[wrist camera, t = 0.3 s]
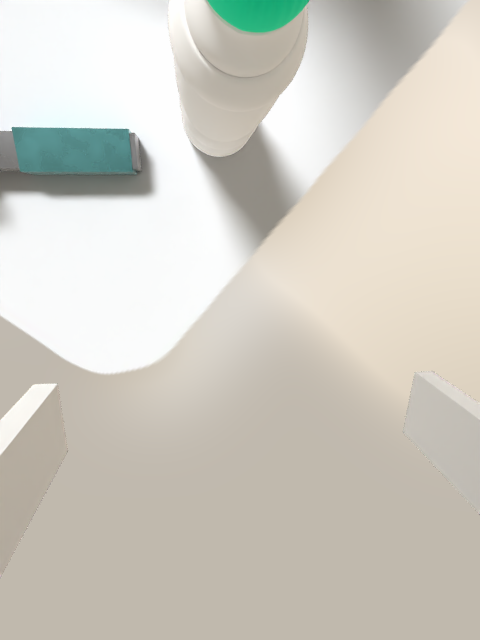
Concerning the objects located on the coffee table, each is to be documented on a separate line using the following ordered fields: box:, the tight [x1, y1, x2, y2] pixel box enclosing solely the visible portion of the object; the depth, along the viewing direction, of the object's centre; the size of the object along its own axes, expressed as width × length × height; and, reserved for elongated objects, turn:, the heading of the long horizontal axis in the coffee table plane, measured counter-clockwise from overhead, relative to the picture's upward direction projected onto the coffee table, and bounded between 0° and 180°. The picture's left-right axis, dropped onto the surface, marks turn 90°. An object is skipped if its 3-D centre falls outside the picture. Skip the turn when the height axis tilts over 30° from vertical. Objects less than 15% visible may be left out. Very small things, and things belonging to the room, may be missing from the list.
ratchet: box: [0, 127, 142, 175], centre depth 30 cm, size 21×7×6 cm, turn 90°
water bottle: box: [168, 0, 309, 157], centre depth 22 cm, size 7×7×25 cm
